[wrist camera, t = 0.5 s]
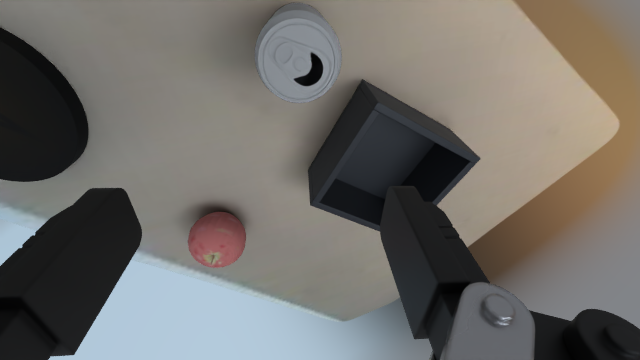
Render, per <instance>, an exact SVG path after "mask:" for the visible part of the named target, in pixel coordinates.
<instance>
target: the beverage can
mask: <svg viewBox="0 0 640 360" xmlns="http://www.w3.org/2000/svg"><path fill="white" fill-rule="evenodd" d="M341 60H342V54H341V47H340V43H339V40H338V38H337V36H336V34H335V32H334V30H333V29H332V28H331V26H330V25H329V24H328V22H327V21H326V20H325V19H324V17H323V16H322V15H321V14H320V13H319V12H318V11H317V10H316V9H315V8H313V7H312V6H310V5H307V4H304V3H290V4H287V5H285V6H283V7H281V8H280V9H278V10H277V11H276V12H275V13H274V15H273V16H272V17H271V18H270V20H269V21H268V22H267V23H266V25H265V26H264V27H263V29H262V30H261V32H260V34H259V36H258V39H257V42H256V46H255V63H256V68H257V71H258V74H259V76H260V78H261V80H262V81H263V83H264V84H265V85H266V87H267V88H268V89H269V90H270V91H271V92H273V93H274V94H275V95H276V96H278V97H280V98H281V99H283V100H286V101H289V102H294V103H305V102H310V101H313V100H315V99H317V98H319V97H321V96H322V95H323V94H325V93H326V92H327V91H328V90H329V89H330V88H331V87H332V85H333V84H334V82H335V81H336V79H337V77H338V74H339V72H340V68H341Z"/></svg>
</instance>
